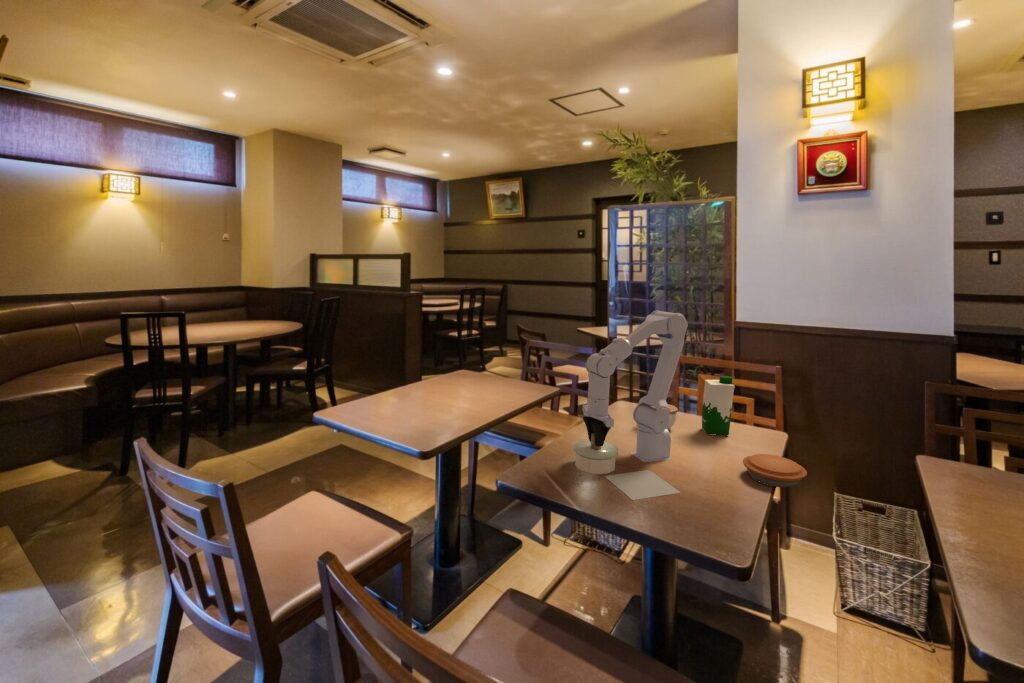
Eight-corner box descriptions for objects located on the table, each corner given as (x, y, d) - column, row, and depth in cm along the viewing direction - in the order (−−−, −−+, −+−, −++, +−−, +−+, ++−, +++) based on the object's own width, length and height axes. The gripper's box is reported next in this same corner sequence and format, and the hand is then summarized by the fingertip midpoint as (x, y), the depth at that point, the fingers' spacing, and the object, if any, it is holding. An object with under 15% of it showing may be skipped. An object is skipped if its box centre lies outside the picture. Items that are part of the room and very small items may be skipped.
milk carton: (732, 437, 163) (737, 380, 160) (704, 435, 165) (709, 378, 161) (724, 428, 172) (729, 374, 169) (698, 427, 173) (702, 373, 170)
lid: (606, 441, 143) (607, 425, 143) (626, 457, 132) (627, 440, 131) (567, 443, 140) (568, 428, 140) (583, 460, 129) (584, 443, 128)
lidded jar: (678, 434, 165) (680, 408, 164) (645, 431, 167) (647, 405, 166) (674, 424, 176) (675, 399, 174) (643, 422, 178) (645, 397, 176)
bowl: (602, 457, 144) (603, 443, 143) (622, 472, 133) (623, 457, 133) (569, 461, 140) (569, 447, 140) (586, 477, 130) (587, 462, 129)
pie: (819, 491, 125) (821, 473, 124) (762, 492, 124) (764, 474, 123) (781, 466, 140) (783, 450, 139) (730, 467, 139) (732, 450, 138)
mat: (648, 472, 134) (648, 469, 134) (680, 494, 121) (681, 492, 121) (604, 478, 130) (604, 476, 130) (632, 502, 117) (632, 500, 117)
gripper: (573, 391, 139) (572, 436, 141) (598, 405, 126) (595, 454, 128) (595, 389, 141) (593, 433, 143) (621, 403, 128) (619, 451, 130)
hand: (596, 443), depth 136 cm, fingers closed on lid, 3 cm apart
